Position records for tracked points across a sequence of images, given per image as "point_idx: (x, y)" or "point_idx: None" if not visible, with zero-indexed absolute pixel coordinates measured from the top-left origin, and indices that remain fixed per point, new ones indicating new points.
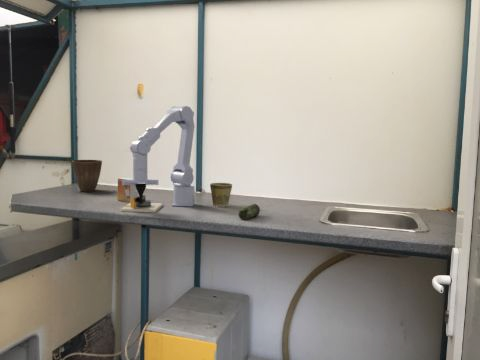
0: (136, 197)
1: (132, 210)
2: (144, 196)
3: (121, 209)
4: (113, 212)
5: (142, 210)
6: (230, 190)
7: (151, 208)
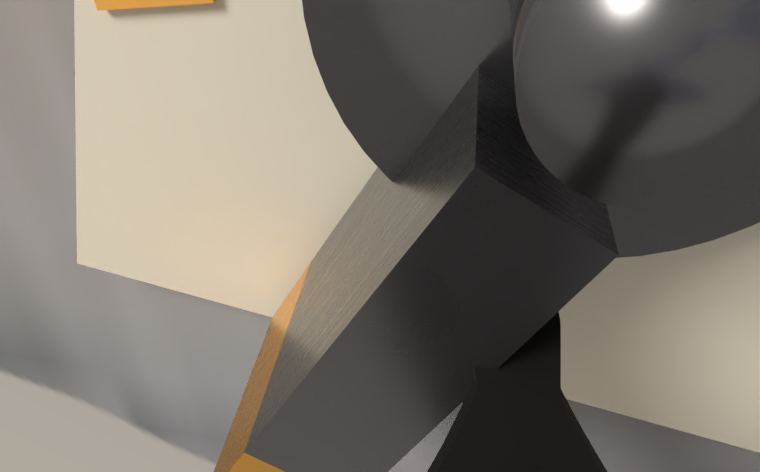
0: (362, 463)
1: None
2: (730, 169)
3: (100, 258)
4: (11, 300)
5: None
6: None
7: (745, 319)
